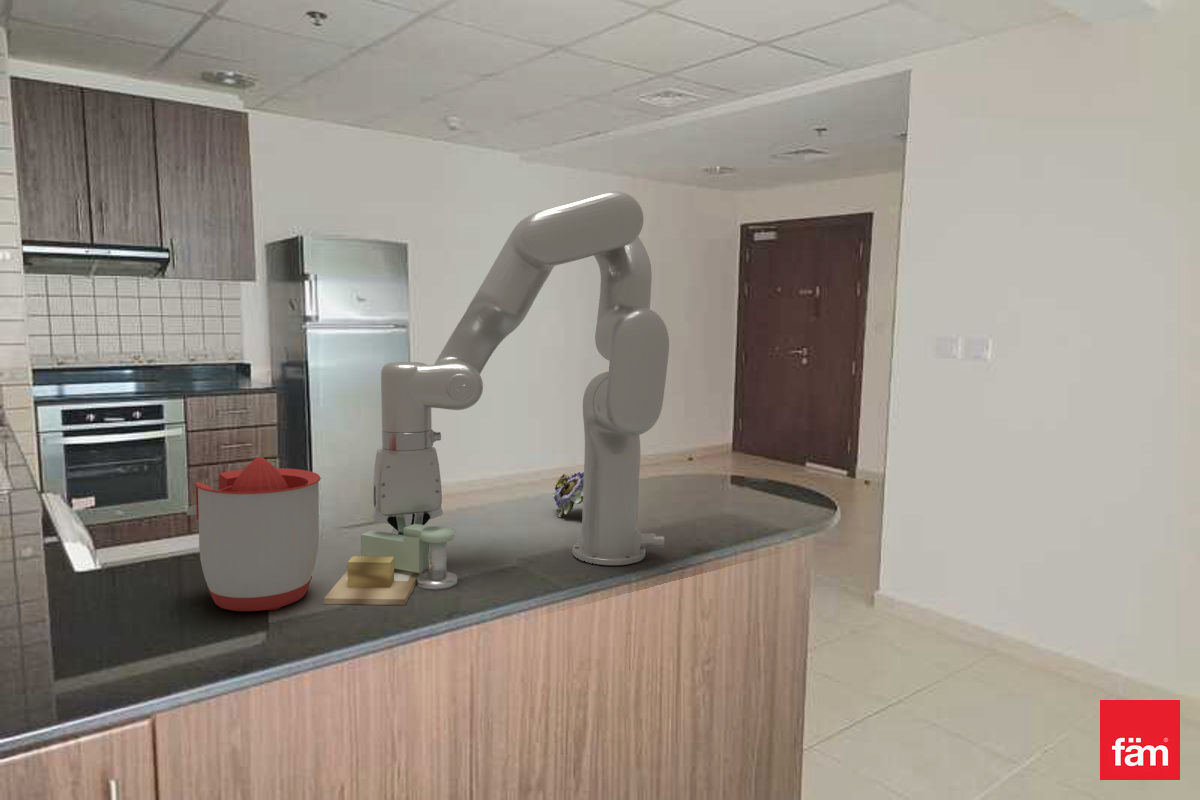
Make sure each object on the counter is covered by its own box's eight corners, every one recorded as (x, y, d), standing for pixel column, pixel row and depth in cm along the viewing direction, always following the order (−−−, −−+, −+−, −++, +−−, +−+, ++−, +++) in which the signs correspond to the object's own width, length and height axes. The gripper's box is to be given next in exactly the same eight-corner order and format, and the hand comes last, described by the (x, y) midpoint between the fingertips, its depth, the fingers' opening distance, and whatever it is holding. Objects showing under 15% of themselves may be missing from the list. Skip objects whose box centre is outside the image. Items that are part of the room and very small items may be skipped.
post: (459, 576, 117) (460, 534, 116) (454, 590, 111) (455, 546, 110) (420, 575, 117) (420, 534, 116) (413, 589, 111) (413, 545, 110)
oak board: (425, 565, 122) (426, 538, 121) (405, 604, 105) (405, 573, 104) (356, 564, 121) (356, 537, 121) (323, 604, 104) (323, 572, 104)
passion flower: (561, 543, 155) (538, 490, 159) (604, 526, 161) (580, 476, 165) (582, 524, 146) (557, 469, 150) (627, 507, 152) (601, 455, 156)
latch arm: (459, 570, 115) (460, 528, 114) (441, 579, 111) (442, 536, 110) (376, 555, 121) (376, 515, 120) (356, 564, 116) (356, 522, 116)
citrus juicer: (223, 576, 113) (221, 444, 111) (337, 581, 113) (337, 449, 111) (159, 616, 98) (155, 464, 96) (292, 623, 97) (291, 470, 95)
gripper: (448, 435, 125) (449, 543, 127) (354, 440, 118) (356, 554, 120) (460, 442, 118) (461, 556, 120) (360, 448, 112) (363, 568, 114)
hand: (408, 555), depth 120 cm, fingers closed
